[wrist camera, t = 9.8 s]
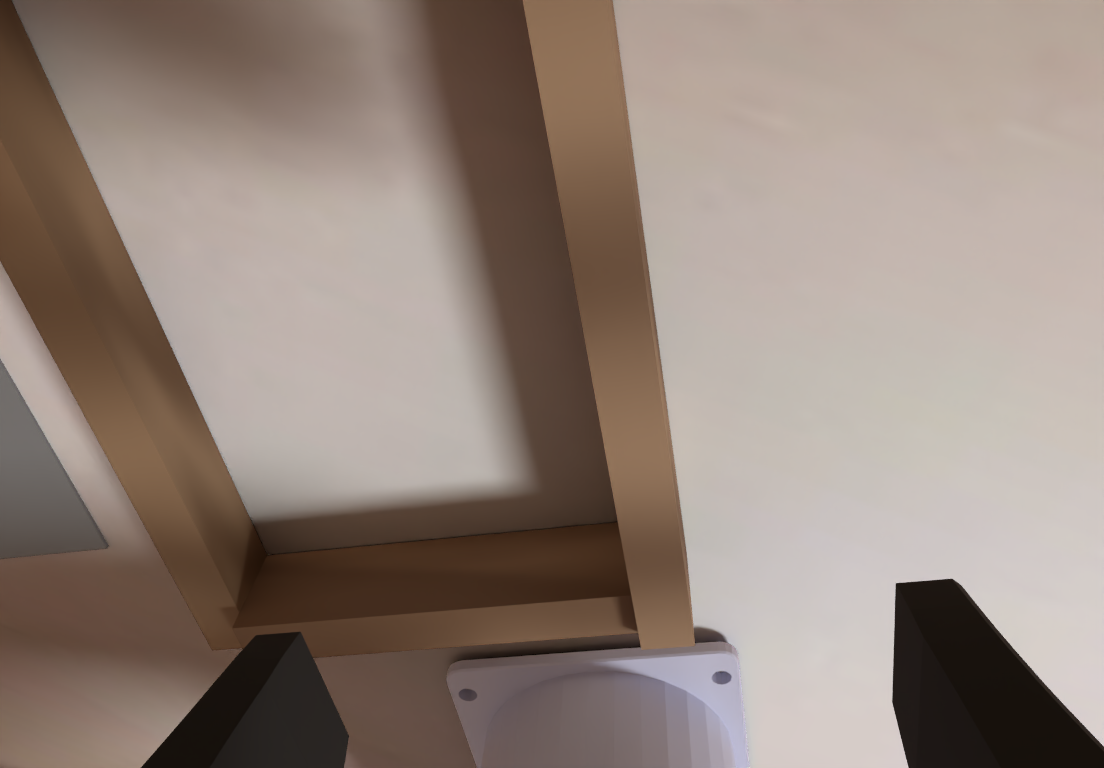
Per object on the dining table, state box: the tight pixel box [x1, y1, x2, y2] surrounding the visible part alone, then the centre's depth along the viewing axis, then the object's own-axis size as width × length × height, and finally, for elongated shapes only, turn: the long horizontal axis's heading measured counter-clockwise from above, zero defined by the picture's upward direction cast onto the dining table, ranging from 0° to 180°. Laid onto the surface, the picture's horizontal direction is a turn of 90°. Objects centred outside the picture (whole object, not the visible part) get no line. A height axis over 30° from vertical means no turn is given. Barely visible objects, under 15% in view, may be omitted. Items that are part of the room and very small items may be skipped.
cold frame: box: [0, 0, 695, 658], centre depth 17 cm, size 18×12×3 cm, turn 10°
